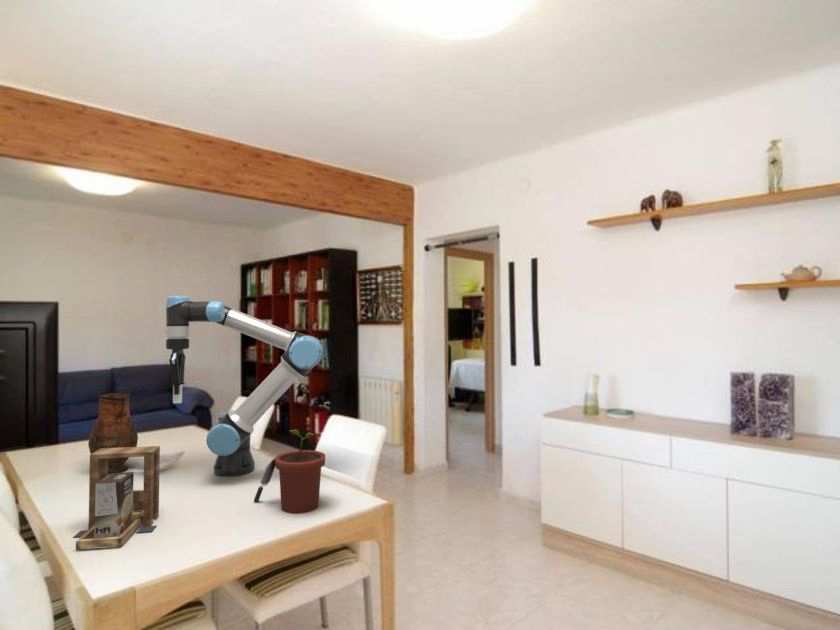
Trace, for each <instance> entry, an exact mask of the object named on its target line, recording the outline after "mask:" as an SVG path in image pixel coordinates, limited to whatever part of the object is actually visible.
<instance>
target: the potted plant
mask: <svg viewBox="0 0 840 630" xmlns="http://www.w3.org/2000/svg"><path fill="white" fill-rule="evenodd" d="M288 431H289V432H290V433H291V434H293V435H295V436H297V437H299V438H300V447H299V450H292V451H286V452H283V453H280V454H278V455H276V456H274V458H272V459H271V460H270V461H269V463H268V464H267V465H266V466H265V468H264V471H263V474H262V477H261V479H260V486H258V488H257V491H256V494H255V496H254V499H253V502H254V503H256V502H257V503H259V501H260V498H261V495H262V493H263V490H264V487H265V486H267V485H269V483H270V482H271V480H272V476H273V473H274V472H275V471H274V470H275V468H276V469H277V470H278V471H279V475H278V476H279V489H280V490H279V491H280V492H279V493H280V510H281V511H283V512H284V513H287V514H293V515H294V514H295V515H296V514H297V515H298V514H299V515H300V514H305V513H310V512H312V511H315V510H316V509H318V507H319V502H320V488H321V476H322V475H321V474H322V468H323V467H325V465H326V454H325V453H324V452H321V451H318V450H309V449H303V440H305V439H307V438H310V437H312V436H315V435H316V434H315V433H312V432H307V433H306V434H305V437H303V436H302V435H300V430H298V429H292V430H290V429H289V430H288ZM302 449H303V450H302Z"/></svg>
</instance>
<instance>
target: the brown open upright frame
mask: <svg viewBox="0 0 840 630" xmlns="http://www.w3.org/2000/svg"><path fill="white" fill-rule="evenodd" d="M160 450H161V447H160V445H150V446H149V445H148V446H137V447H122V448H101V449H99V450H97V451H95V452H94V453H92V454H91V453H90V454H89V481H88V482H89V486H88V487H89V488H88V489H89V492H88V494H89V495H88V530H89V529H91V528H92V527H93V526H94V525H95V489H96V484H95V483H96V482H98V481H99V480H101V479H103V478H104V477H106V476H107V475H109V474H108V458H123V457H129V458H141V457H143V490H144V492H143V511H142V512H143V523H142V526H153V524H154V520H157V519H158V518H159V517H160V513H159V512H160V464H161V463H160V458H161V455H160V454H161V453H160V452H161V451H160Z"/></svg>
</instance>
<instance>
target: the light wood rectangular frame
mask: <svg viewBox="0 0 840 630" xmlns="http://www.w3.org/2000/svg"><path fill="white" fill-rule="evenodd" d="M143 492H144V489H133V523H132V524H131V525H130V526H129V527H128V528H127V529H126V530H125V531H124V532H123V533H122V534H121V535H120V536H119V537H109V538H95V539H94V528H95V525H94V526H93V527H92V528H91V529H89V528H88V529H87V530H88V531H87V532H86V533H85V534H84V535H83V536H82V537H80V538H77V540H76V541H75V550H85V549H86V550H87V549H96V548H97V549H98V548H99V549H100V548H110V547H111V548H112V547H114V548H115V547H122V546H123V545H124V544H125V543H126V542H127V541H128V540H129V538H130V537H131V536H132V535H133V534H134V533H135V532H136V531H137V529H138V528H139V527H141V526H142V525H143ZM140 511H141V512H140Z"/></svg>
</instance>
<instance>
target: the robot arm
mask: <svg viewBox="0 0 840 630" xmlns="http://www.w3.org/2000/svg"><path fill="white" fill-rule="evenodd" d="M165 306H166V307H165V311H166V312H165V313H166V314H165V315H166V317H165V319H166V321H165V322H166V324H165V326H166V328H165V329H164V332H166V333H165V334H166V335H165V336H166V338H167V339H166V340H165V343H166V344H165V348H166V349H167V350H171V354H170V358H169V359H168V360H169V365H170V367H169V368H170V380H171V381H170V382H171V383H170V386H171V387H172V404H182V403H183V385H185V382H184V381H185V369H186V368H185V365H186V363H185V362H186V355H185V353H184V350H187V349H189V348H190V339H189V337H190V323H191V322H192V323H193V322H194V323H195V322H196V323H197V322H199V323H201V322H203V323H205V322H206V323H210V322H211V323H216V324H218V325H221V326H223V327H226V328H228V329H231V330H234V331H237V332H239V333H242V334H243V335H246V336H249V337H251V338H254V339H256V340H259V341H260V342H264V343H266V344H268V345H272V346H274V347H276V348H279V349H280V350H281V349H282V350H284V353H283V354H282V355H281V356H280V362H279V364H278V365H277V366H276V367H275V368H274V369H273V370H272V371H271V372H270V373H269V375H267V377H265V379H264V380H263V381H261V383H260V384H259V385H258V386H257V387H256V388H255V389H254V390H253V391H252V392H251V393H250V395H248V397H247V398H246V399H245V400H243V402H242V403H241V404H240V405H239V406H238V407H237V408H236V409H235V410H233V409H232V410H229V411H228V412H226V411H225V412H221V413H220V414H219V417H218V422H217V423H216V424H215V425H214V426H212V427H210V429H209V431H208V432H207V435H206V446H207V448H208V449H209V450H210V452H211V453H213V454H215V455H216V458H215V462H214V465H213V474H215V475H216V476H220V477H236V476H241V475H246V474H249V473H251V472H253V471H254V470H255V460H254V456H253V453H252V452H251V435H252V433H253V432H254V425H255V424H256V423H257V422H258V421H259V420H260V419H261V418H262V417H263V416H264V414H266V412H267V411H269V410H270V408H271V407H272V406H273V405H274V404H275V403H277V401H278V400H279V399H280V398H281V397H282V395H284V393H285V392H286V391H287V390H288V389H289V388H291V386H292V385H293V384H294V383H295V382H296V381H297V380H298V378H305V377H306V376H307V375H308V374H309V373H310V372H311V371H312V370H313V368H315V366H317V365H318V364H319V363H320V362H321V361H322V358H323V356H324V351H325V349H324V345H323V342H321V340H320V339H319V338H318V337H316V336H312V335H308V334H304V333H301V332H298V331H293V332H292V331H289V330H287V329H284V328H282V327H280V326H277V325H274V324H271V323H269V322H267V321H264V320H262V319H259V318H256V317H254V316H252V315H249V314H247V313H244V312H242V311H240V310H238V309H234V308H231V307H229V306H227V305H225V304H224V303H223V302H222V301H214V300H211V301H209V300H208V301H193V300H192V301H191V300H190V297H189V296H188V295H170V296H168V297H167V298H166V305H165Z"/></svg>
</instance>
